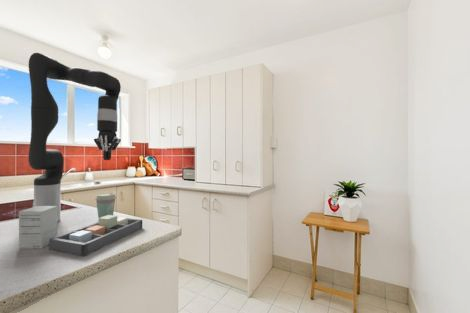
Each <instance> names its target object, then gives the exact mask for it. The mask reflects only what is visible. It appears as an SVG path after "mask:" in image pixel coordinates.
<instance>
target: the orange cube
mask: <svg viewBox="0 0 470 313" xmlns="http://www.w3.org/2000/svg"><path fill="white" fill-rule="evenodd" d="M85 231H91V232H92V234H98V235H105V226H98V225H95V226H92V227H90V228H87V229H85Z"/></svg>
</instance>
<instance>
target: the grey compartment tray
mask: <svg viewBox="0 0 470 313" xmlns="http://www.w3.org/2000/svg"><path fill="white" fill-rule="evenodd" d="M118 217H119V216H117V218H118ZM127 218H128V217H127ZM95 225H98V226H99V221H98V222H95V223H92V224H89V225H85V226H83V227H81V228H80V227H79V228H76V229H74V230H71V231H69V232H65V233H62V234H59V235H58V236H56V237H53V238H51V239H49V244H48V246H49V248H48V250H50V251H53V252H58V253H59V252H60V253H65V254H69V255H75V256H80V257H86V256H88V255H90V254H92V253H94V252H96V251H99V250H101V249H103V248H105V247H107V246H109V245H111V244H113V243H114V242H117V241H119V240H121V239H123V238H125V237H127V236H130V235H132V234H133V233H135V232H138V231H140V230H142V229H143V219H137V218H128V225H122V224H117V225H116V226H113V227H111V228H108V229H107V228H105V235H98V234H92V240H91V241H88V242H86V243H83V242H77V241H71V240H69V235H70V234H73V233H75V232H78V231H81V230H84V231H85V229H87V228H90V227H92V226H95Z"/></svg>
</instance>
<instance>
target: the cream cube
mask: <svg viewBox="0 0 470 313" xmlns="http://www.w3.org/2000/svg"><path fill="white" fill-rule="evenodd" d="M117 217H118V218H117V224H122V225H128V217H124V216H123V217H122V216H117Z"/></svg>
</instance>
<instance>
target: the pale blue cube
mask: <svg viewBox="0 0 470 313" xmlns="http://www.w3.org/2000/svg"><path fill="white" fill-rule="evenodd" d="M69 240H71V241H77V242H83V243H86V242H88V241H91V240H92V232H91V231H84V230H81V231H78V232H75V233H73V234H70V235H69Z"/></svg>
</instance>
